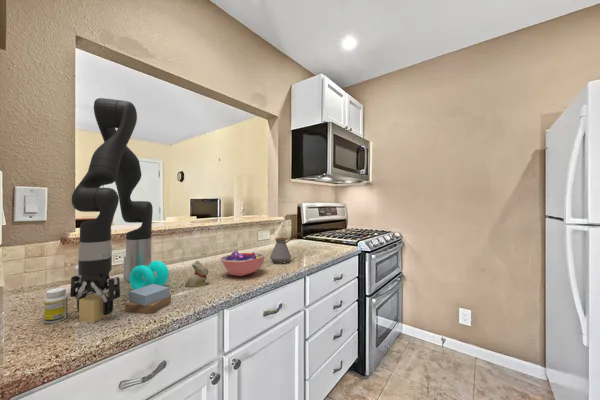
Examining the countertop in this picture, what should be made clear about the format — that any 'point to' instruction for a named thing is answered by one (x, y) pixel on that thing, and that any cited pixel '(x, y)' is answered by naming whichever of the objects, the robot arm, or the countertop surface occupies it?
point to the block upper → (148, 294)
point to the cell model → (242, 263)
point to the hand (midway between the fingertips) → (95, 312)
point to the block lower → (148, 309)
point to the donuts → (149, 275)
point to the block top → (91, 308)
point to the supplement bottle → (55, 305)
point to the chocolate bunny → (197, 275)
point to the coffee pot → (281, 250)
